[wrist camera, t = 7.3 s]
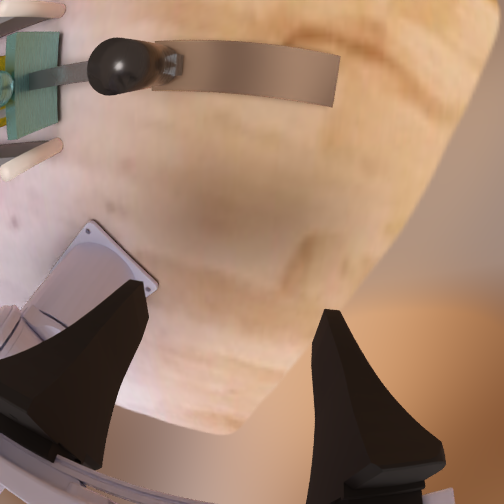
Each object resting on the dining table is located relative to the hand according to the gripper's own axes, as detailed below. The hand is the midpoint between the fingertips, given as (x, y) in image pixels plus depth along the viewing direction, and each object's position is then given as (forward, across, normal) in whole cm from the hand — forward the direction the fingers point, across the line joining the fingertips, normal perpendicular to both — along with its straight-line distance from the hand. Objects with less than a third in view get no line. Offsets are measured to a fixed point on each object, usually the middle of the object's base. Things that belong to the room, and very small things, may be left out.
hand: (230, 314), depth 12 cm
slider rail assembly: (+10, +11, -9) cm, 17 cm away
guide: (+10, +1, -9) cm, 14 cm away
